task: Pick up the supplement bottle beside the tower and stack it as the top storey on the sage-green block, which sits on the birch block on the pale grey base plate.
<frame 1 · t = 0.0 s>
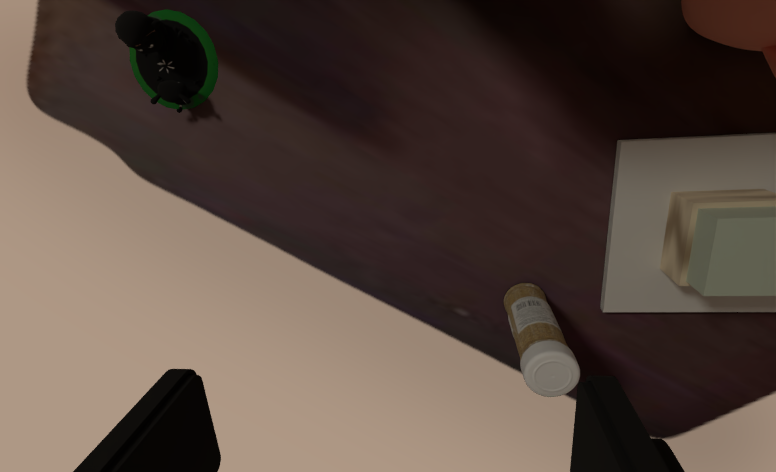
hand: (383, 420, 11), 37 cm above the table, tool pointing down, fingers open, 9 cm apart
birch block: (709, 230, 44), point 1 cm above the table, touching base plate, sage block
base plate: (703, 227, 45), on the table
sage block: (734, 245, 40), point 5 cm above the table, touching birch block
toy figurine: (175, 61, 45), on the table
sprinkles bottle: (524, 298, 50), on the table
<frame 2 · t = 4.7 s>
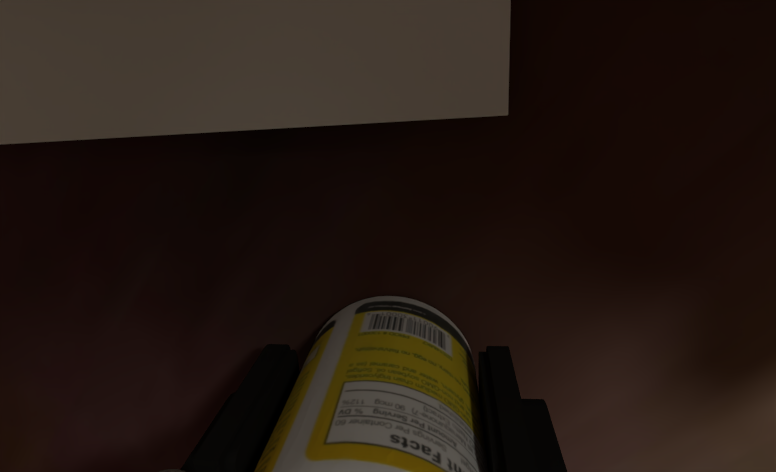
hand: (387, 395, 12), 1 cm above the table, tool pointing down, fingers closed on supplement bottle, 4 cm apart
supplement bottle: (394, 358, 13), on the table, touching gripper
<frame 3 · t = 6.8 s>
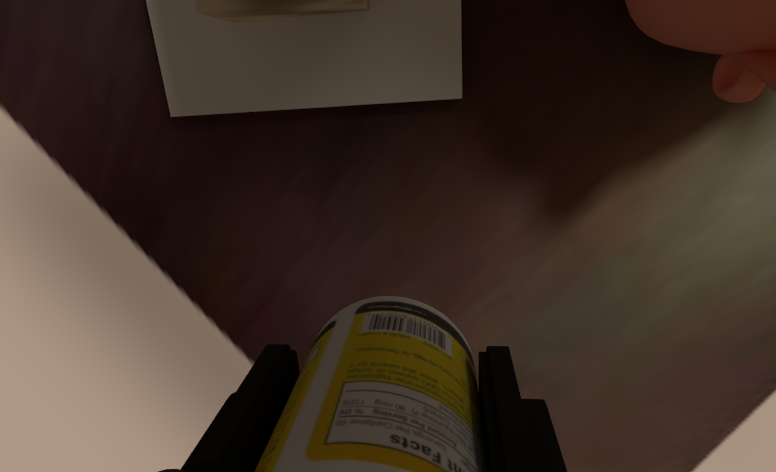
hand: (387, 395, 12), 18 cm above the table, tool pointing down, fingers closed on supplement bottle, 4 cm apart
supplement bottle: (394, 359, 13), point 17 cm above the table, touching gripper
when the fingers open (11 cm above the table, at t = 10.0 s): supplement bottle drops 2 cm, resting on sage block.
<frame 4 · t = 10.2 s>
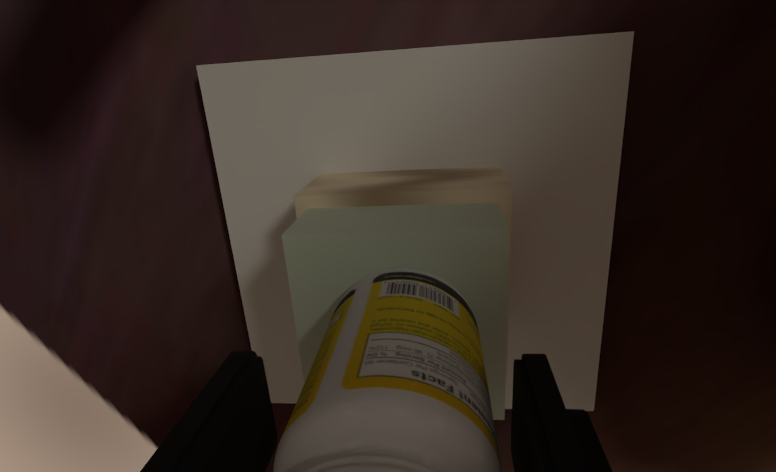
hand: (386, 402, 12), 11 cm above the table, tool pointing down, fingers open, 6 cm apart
birch block: (411, 253, 21), point 1 cm above the table, touching base plate, sage block
base plate: (413, 245, 22), on the table
sage block: (405, 290, 18), point 5 cm above the table, touching birch block, supplement bottle
supplement bottle: (405, 326, 15), point 8 cm above the table, touching sage block
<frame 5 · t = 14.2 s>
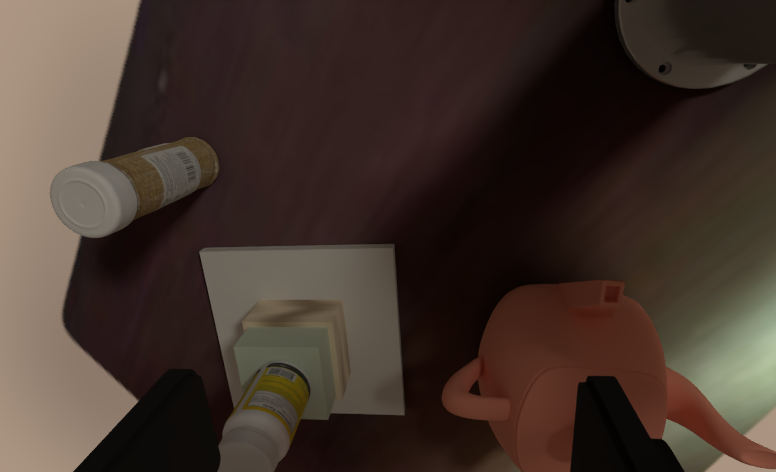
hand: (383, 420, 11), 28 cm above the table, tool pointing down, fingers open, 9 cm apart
teapot: (562, 330, 41), on the table
birch block: (306, 336, 43), point 1 cm above the table, touching base plate, sage block
base plate: (309, 331, 44), on the table
sage block: (293, 361, 39), point 5 cm above the table, touching birch block, supplement bottle
sprinkles bottle: (198, 162, 40), on the table
supplement bottle: (285, 381, 37), point 8 cm above the table, touching sage block
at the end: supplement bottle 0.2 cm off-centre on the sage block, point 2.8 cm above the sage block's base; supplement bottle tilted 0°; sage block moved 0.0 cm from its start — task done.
